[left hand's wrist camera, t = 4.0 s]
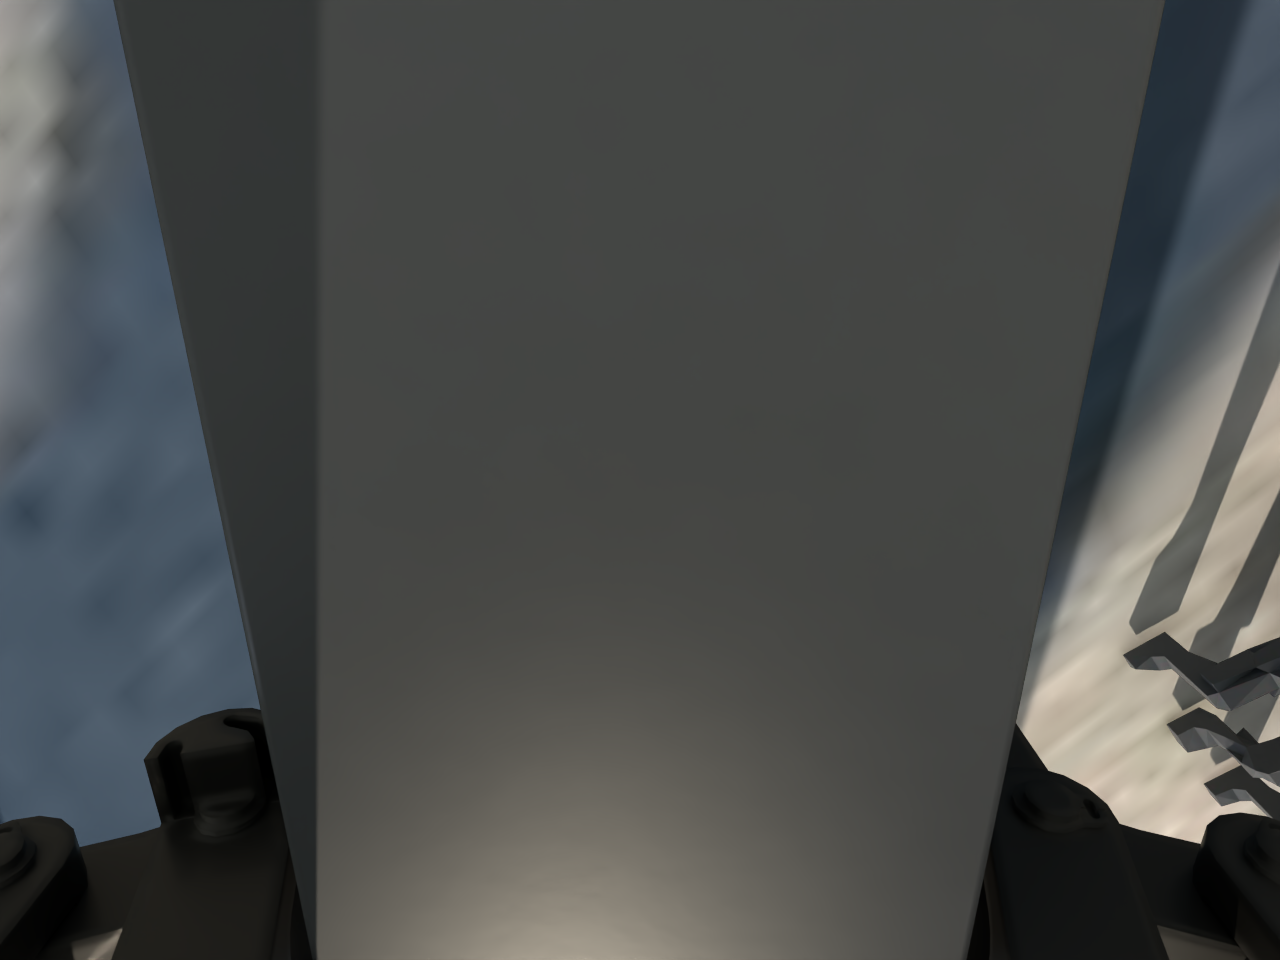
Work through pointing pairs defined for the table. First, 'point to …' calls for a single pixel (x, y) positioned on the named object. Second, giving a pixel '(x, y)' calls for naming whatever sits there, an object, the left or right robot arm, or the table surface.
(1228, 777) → the toy
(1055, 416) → the bar
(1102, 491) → the table surface
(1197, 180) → the table surface
